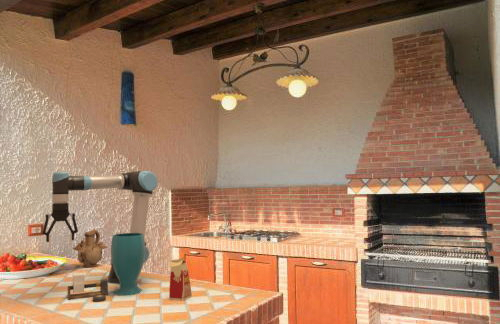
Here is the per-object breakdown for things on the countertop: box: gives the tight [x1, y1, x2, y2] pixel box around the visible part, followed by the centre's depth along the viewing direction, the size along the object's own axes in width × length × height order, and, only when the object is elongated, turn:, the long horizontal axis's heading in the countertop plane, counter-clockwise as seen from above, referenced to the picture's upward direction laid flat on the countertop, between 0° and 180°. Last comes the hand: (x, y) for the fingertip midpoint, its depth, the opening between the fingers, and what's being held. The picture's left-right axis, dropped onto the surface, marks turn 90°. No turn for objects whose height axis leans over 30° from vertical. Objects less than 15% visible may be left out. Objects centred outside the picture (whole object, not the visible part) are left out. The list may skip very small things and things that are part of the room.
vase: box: [110, 232, 146, 296], centre depth 236 cm, size 17×17×30 cm
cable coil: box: [92, 295, 107, 303], centre depth 219 cm, size 6×6×2 cm
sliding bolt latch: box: [66, 278, 109, 301], centre depth 228 cm, size 19×7×7 cm, turn 116°
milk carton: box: [168, 257, 193, 301], centre depth 222 cm, size 9×9×20 cm
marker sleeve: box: [72, 273, 85, 294], centre depth 226 cm, size 5×4×8 cm
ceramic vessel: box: [72, 228, 108, 268], centre depth 309 cm, size 18×19×25 cm
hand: (60, 247), depth 223 cm, fingers open, 9 cm apart
